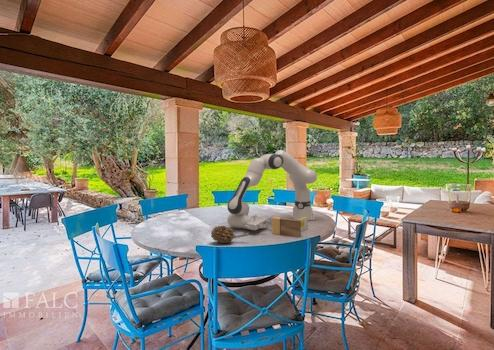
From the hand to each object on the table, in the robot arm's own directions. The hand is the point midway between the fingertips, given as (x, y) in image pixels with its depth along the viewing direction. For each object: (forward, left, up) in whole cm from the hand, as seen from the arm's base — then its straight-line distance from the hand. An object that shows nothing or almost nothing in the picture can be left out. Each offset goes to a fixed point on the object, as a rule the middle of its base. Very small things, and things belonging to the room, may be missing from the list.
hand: (269, 224), depth 181 cm
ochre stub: (0, +5, -5) cm, 7 cm away
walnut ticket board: (0, +14, -5) cm, 15 cm away
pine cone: (+28, -12, -6) cm, 31 cm away
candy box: (-12, +17, -6) cm, 22 cm away
